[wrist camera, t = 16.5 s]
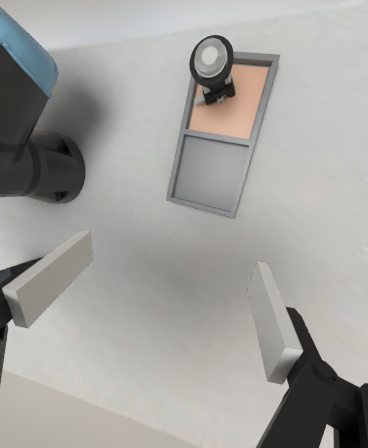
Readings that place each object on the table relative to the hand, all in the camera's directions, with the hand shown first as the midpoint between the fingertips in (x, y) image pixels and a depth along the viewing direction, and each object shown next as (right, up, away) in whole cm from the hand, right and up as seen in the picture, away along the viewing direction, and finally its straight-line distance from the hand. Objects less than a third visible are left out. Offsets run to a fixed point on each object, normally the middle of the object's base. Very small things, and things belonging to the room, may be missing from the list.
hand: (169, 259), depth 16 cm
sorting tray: (+7, +17, +19) cm, 27 cm away
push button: (+6, +24, +17) cm, 30 cm away
